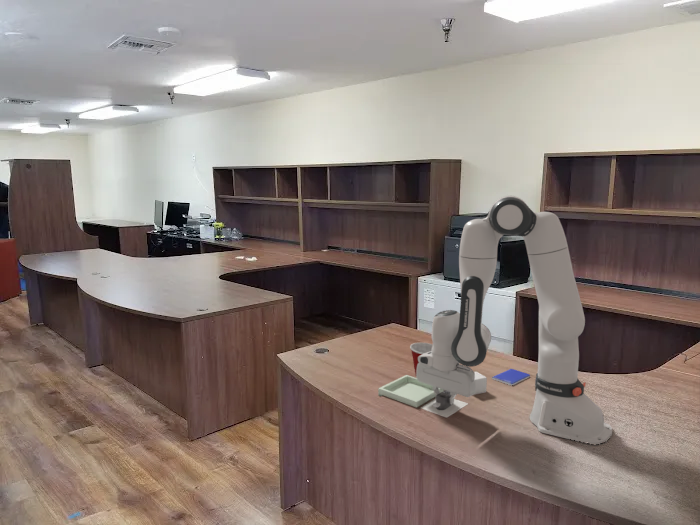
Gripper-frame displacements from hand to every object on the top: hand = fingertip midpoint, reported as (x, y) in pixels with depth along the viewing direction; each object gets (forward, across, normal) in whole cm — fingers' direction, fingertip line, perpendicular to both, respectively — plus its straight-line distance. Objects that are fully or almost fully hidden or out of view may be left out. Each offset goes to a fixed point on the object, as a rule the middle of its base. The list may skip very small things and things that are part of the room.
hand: (444, 401), depth 161 cm
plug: (+2, 0, 0) cm, 2 cm away
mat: (+2, 0, 0) cm, 2 cm away
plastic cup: (+2, +19, -16) cm, 25 cm away
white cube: (+2, -1, -17) cm, 17 cm away
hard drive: (+3, -5, -37) cm, 37 cm away
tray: (+2, +14, -1) cm, 14 cm away
